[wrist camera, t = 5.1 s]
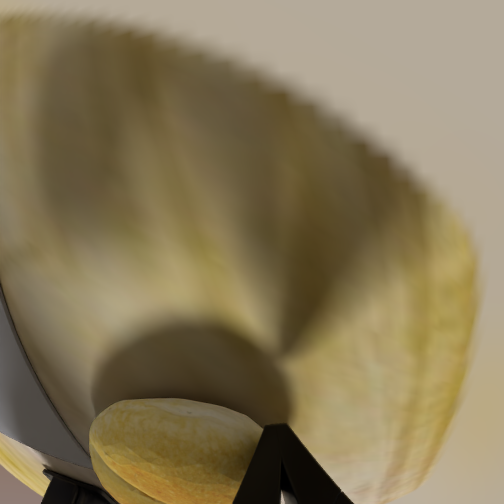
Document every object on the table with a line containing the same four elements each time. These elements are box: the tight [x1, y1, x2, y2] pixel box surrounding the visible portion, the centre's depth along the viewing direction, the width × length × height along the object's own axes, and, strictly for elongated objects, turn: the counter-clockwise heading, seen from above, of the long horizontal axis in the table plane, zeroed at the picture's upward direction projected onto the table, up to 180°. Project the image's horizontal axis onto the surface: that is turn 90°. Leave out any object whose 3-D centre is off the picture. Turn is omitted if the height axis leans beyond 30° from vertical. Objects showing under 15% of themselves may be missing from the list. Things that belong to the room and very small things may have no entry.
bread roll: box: [89, 398, 263, 504], centre depth 8 cm, size 8×9×4 cm
